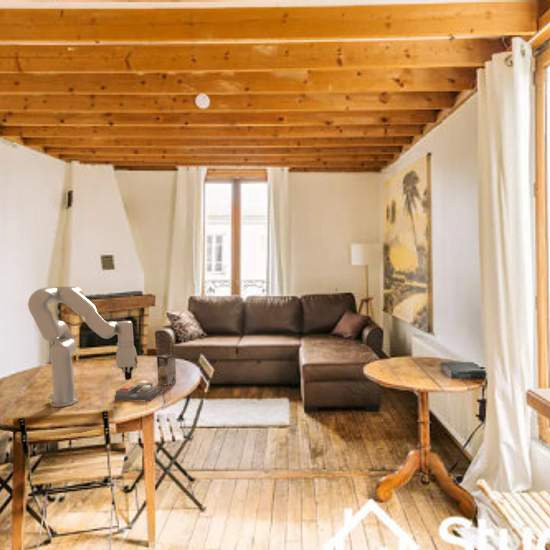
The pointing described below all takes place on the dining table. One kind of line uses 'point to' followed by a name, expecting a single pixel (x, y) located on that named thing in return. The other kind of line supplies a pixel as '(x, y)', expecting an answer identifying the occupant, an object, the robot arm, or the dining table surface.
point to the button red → (125, 388)
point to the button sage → (146, 388)
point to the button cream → (143, 383)
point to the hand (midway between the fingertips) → (128, 379)
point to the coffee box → (166, 369)
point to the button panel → (138, 393)
